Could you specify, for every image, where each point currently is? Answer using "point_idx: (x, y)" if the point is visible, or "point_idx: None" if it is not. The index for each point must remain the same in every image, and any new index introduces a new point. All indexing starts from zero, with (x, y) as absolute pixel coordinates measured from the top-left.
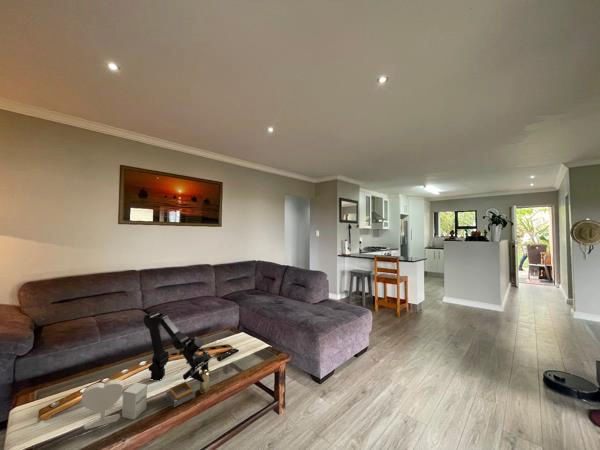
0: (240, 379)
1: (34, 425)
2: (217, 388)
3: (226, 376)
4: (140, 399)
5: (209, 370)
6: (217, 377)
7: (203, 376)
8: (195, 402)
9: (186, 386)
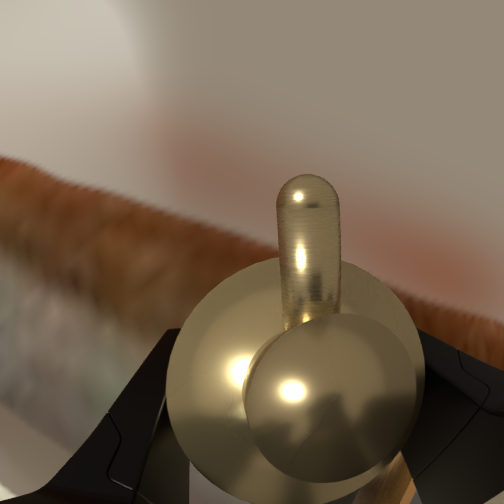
0: (23, 165)
1: None
2: (168, 254)
3: (5, 292)
4: None
5: (292, 181)
6: (37, 367)
7: (398, 316)
8: (410, 300)
9: (390, 497)
